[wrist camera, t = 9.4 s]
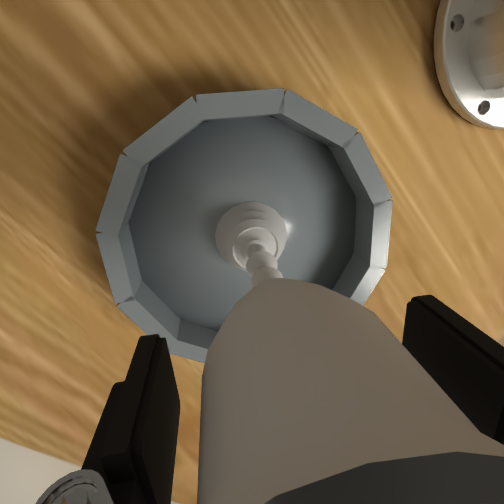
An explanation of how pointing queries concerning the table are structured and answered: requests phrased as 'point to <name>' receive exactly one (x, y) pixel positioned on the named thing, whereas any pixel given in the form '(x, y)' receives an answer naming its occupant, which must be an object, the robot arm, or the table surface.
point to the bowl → (229, 195)
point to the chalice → (324, 398)
